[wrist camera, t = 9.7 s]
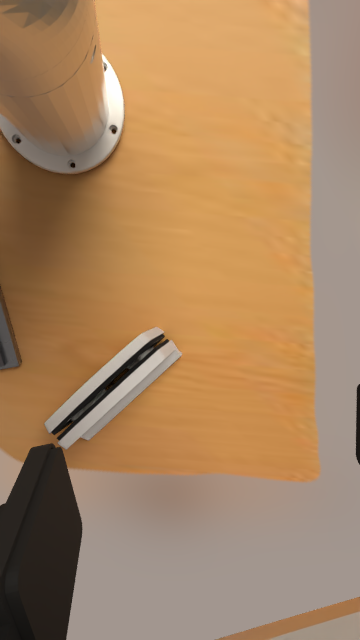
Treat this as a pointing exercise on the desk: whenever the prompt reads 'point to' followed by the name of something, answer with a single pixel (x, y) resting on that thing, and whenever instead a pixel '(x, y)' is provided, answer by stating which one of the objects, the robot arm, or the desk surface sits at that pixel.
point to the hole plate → (7, 339)
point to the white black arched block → (113, 387)
